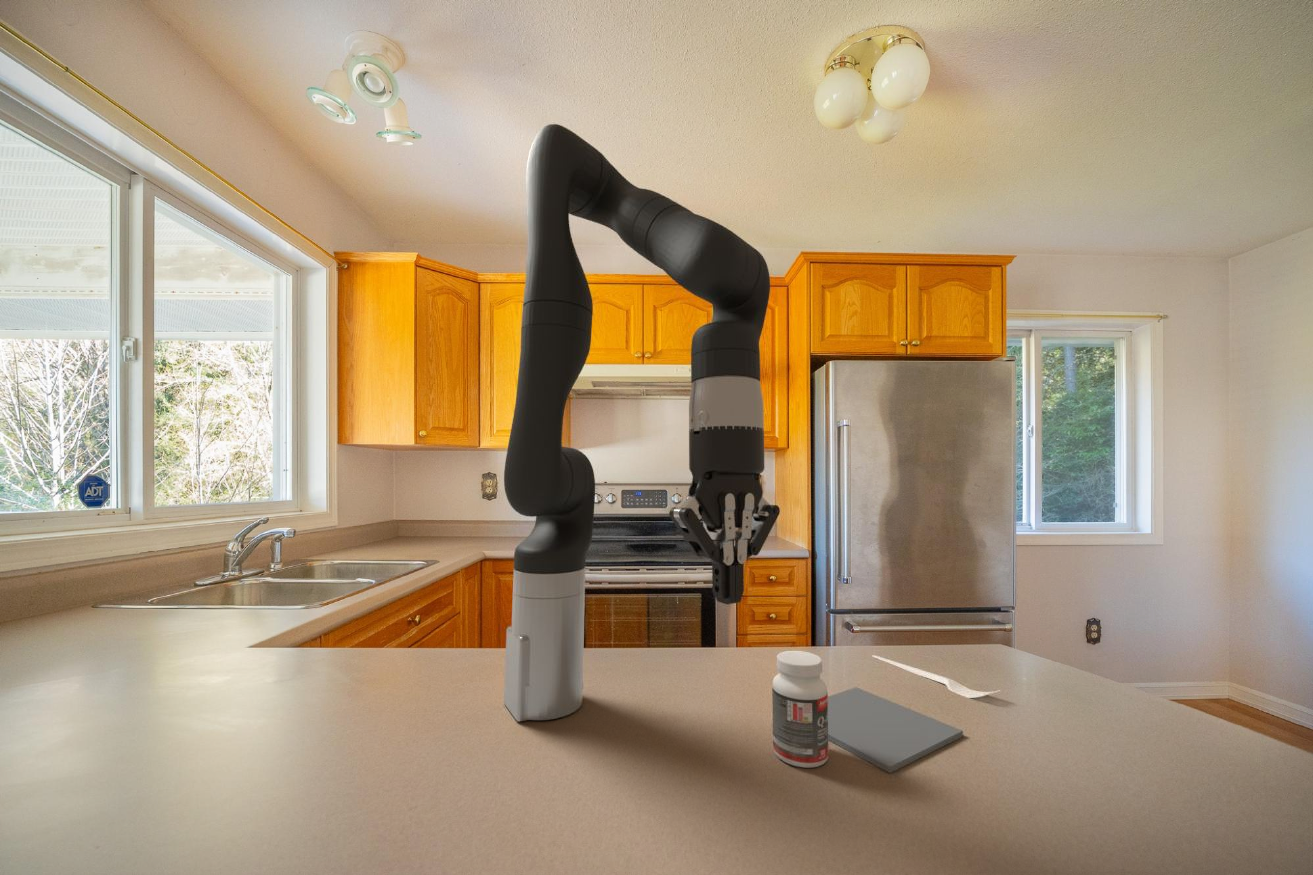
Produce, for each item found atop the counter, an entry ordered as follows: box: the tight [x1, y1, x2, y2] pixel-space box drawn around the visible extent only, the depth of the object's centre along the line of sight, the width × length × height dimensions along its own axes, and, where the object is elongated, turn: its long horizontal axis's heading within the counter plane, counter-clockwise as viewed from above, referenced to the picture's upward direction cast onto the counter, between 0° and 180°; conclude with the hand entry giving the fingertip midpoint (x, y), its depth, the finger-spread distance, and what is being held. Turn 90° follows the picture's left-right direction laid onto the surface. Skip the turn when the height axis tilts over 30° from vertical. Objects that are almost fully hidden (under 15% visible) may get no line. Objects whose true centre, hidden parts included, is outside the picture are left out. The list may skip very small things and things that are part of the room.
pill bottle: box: [771, 650, 830, 769], centre depth 53 cm, size 6×6×10 cm
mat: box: [828, 686, 964, 774], centre depth 59 cm, size 14×14×1 cm
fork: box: [871, 654, 1002, 699], centre depth 74 cm, size 3×20×2 cm, turn 25°
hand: (728, 601), depth 49 cm, fingers closed
